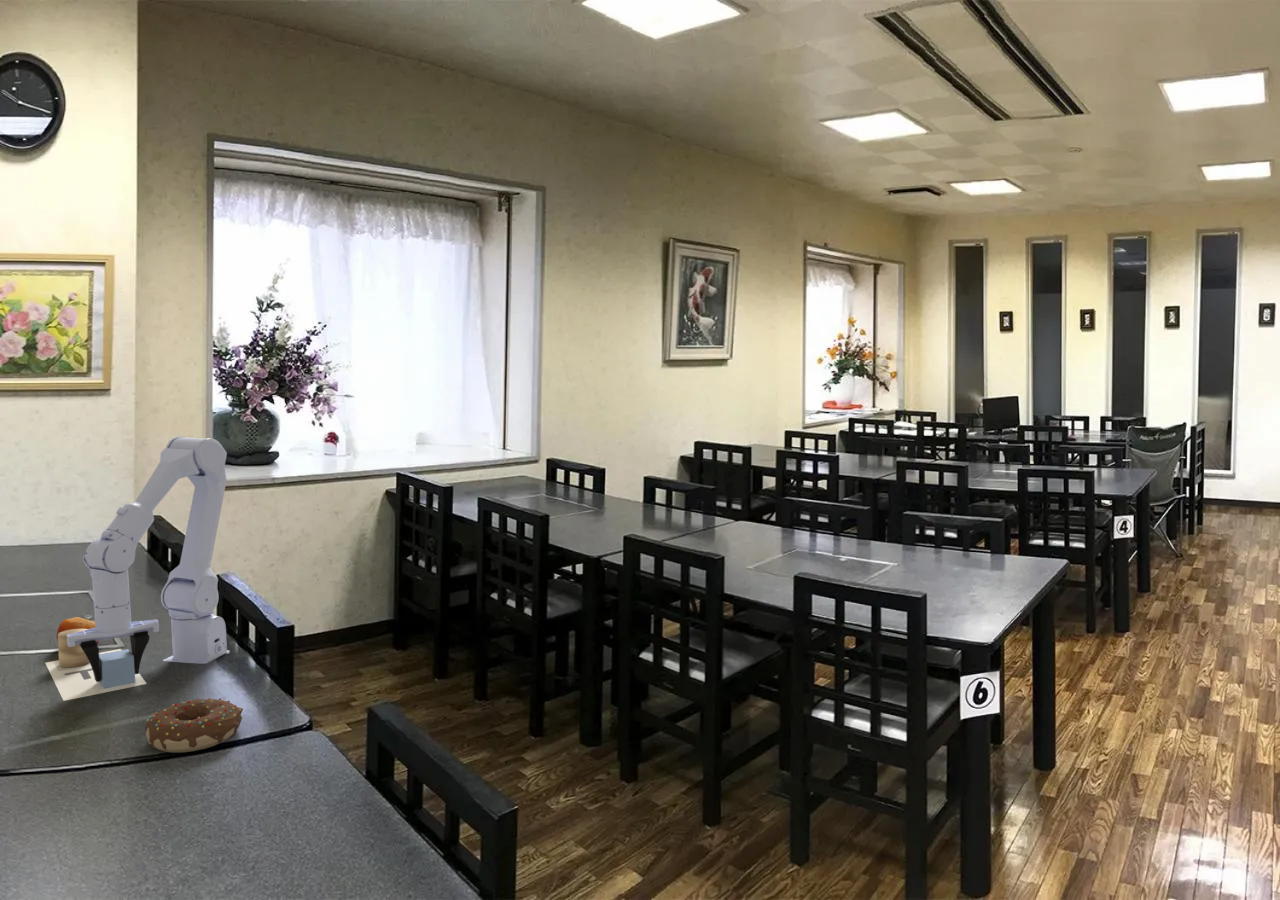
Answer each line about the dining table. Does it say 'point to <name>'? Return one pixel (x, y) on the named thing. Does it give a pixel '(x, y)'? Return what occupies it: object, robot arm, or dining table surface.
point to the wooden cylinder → (70, 651)
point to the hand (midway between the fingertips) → (116, 676)
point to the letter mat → (82, 680)
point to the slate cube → (116, 668)
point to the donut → (193, 725)
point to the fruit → (75, 625)
